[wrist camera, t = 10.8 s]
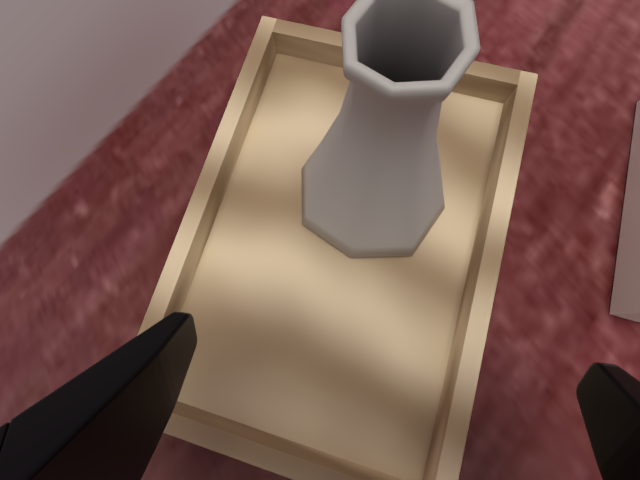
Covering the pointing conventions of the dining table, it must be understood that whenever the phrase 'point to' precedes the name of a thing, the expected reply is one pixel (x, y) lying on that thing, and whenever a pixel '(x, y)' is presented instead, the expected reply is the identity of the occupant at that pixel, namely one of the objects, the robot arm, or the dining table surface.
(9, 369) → the dining table surface
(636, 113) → the white square frame
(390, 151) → the flask
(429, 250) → the serving tray
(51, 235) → the dining table surface
